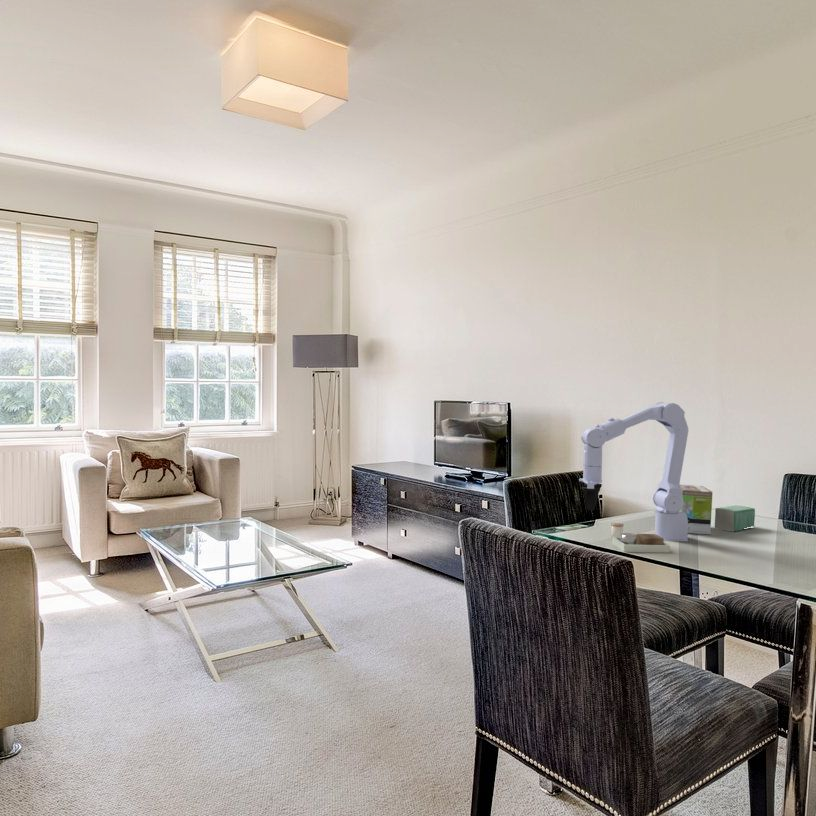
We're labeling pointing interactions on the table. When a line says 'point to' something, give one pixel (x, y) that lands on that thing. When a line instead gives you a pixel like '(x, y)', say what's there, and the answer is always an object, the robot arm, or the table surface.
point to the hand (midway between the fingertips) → (591, 507)
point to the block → (649, 539)
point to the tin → (628, 538)
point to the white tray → (640, 547)
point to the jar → (616, 529)
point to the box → (734, 518)
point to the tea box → (697, 508)
